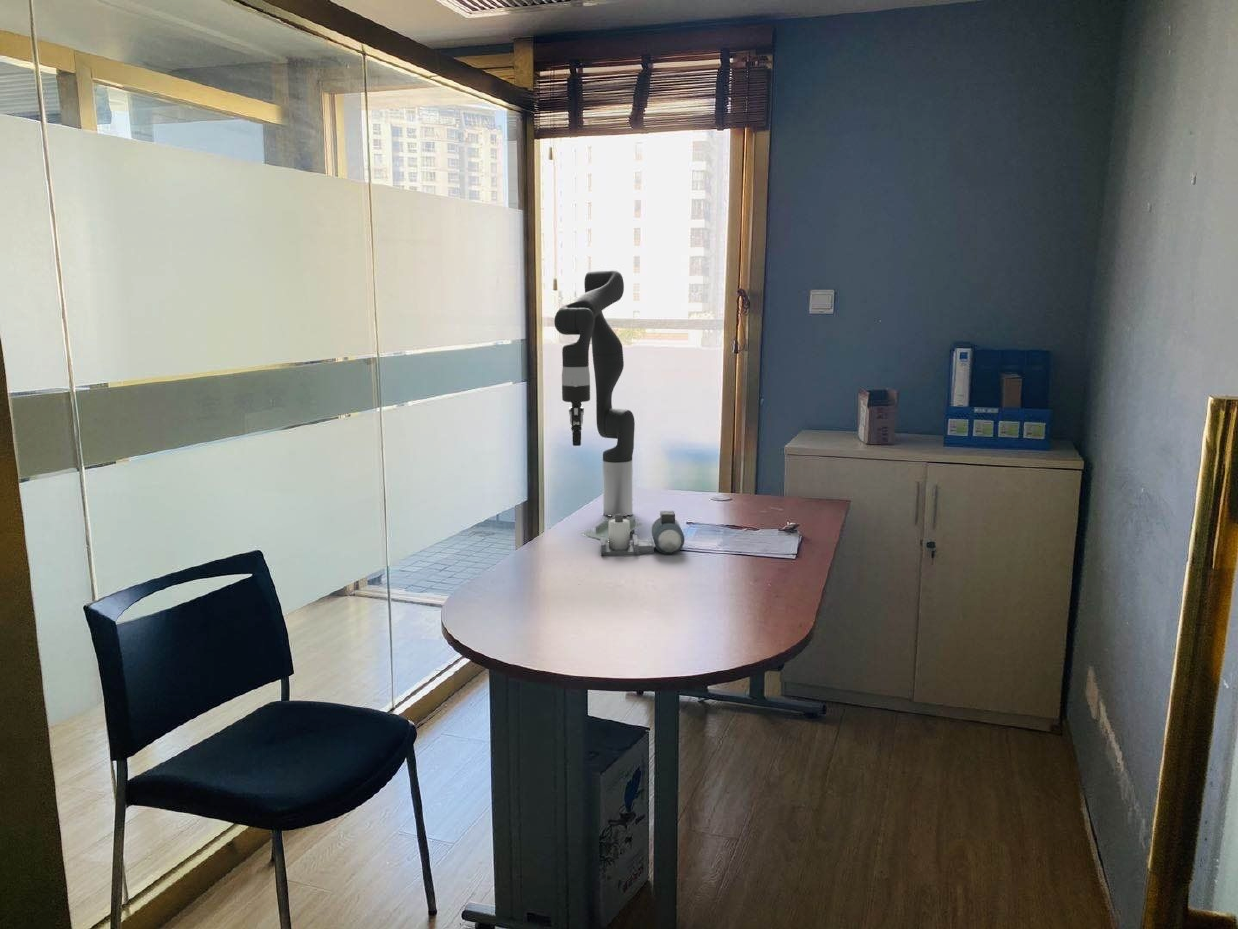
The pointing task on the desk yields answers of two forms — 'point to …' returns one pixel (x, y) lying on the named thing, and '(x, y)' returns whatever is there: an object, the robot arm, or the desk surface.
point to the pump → (619, 533)
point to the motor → (664, 536)
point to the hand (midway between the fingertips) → (577, 443)
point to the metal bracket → (604, 529)
